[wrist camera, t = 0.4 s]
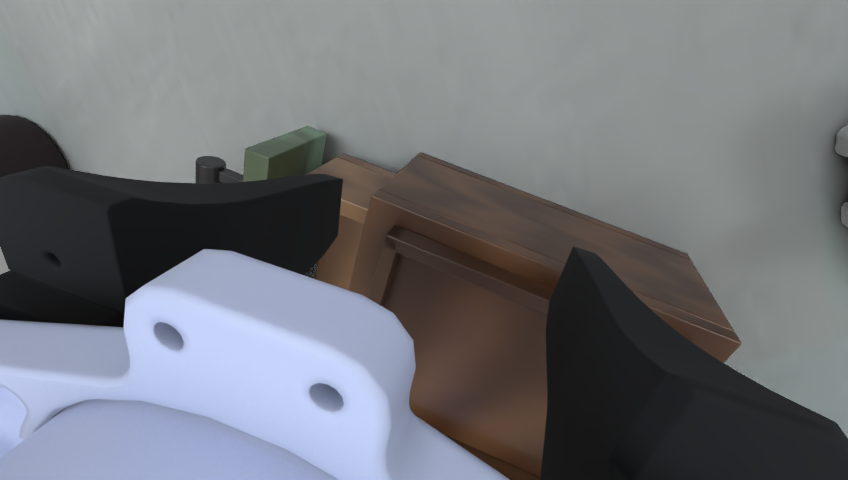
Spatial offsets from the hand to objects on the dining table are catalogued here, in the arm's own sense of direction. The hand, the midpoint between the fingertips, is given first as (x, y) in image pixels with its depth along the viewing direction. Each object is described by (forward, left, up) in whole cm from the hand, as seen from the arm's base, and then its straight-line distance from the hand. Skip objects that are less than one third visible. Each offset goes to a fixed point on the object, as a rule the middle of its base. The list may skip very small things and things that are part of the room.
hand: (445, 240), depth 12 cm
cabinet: (-7, -4, -10) cm, 13 cm away
